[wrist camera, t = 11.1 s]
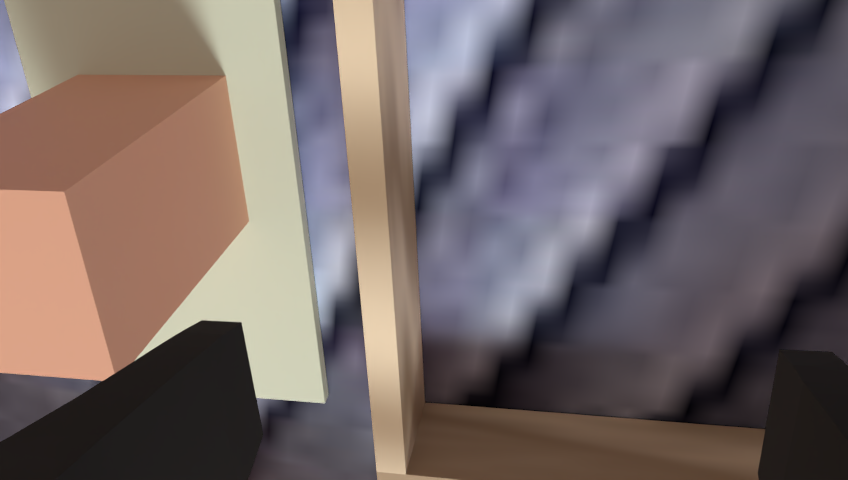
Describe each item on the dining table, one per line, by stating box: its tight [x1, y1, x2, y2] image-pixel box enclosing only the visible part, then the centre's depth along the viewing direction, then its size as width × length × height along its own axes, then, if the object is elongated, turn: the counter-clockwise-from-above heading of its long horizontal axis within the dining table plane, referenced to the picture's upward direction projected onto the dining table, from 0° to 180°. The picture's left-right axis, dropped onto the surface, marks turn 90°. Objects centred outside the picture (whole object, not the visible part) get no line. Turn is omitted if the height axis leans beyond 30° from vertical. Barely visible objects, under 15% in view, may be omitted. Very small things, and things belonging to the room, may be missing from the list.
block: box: [0, 75, 249, 381], centre depth 18 cm, size 4×4×7 cm
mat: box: [4, 0, 329, 403], centre depth 21 cm, size 16×7×1 cm, turn 2°
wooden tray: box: [333, 0, 765, 480], centre depth 18 cm, size 18×14×3 cm
